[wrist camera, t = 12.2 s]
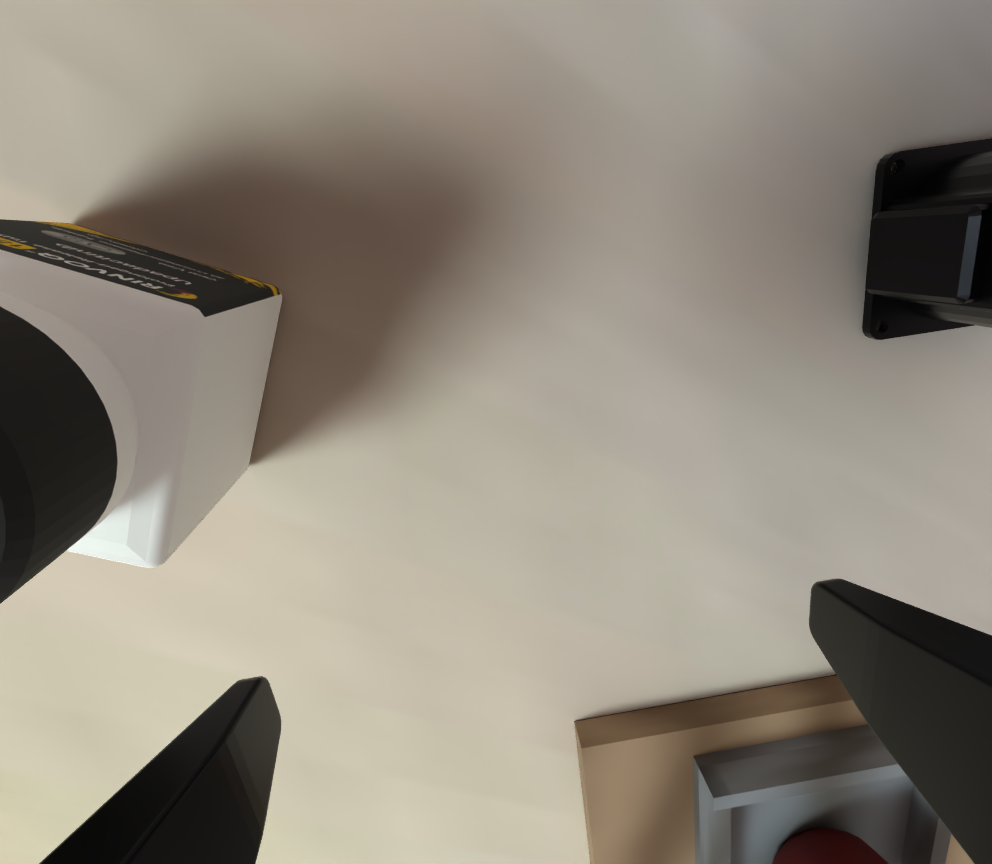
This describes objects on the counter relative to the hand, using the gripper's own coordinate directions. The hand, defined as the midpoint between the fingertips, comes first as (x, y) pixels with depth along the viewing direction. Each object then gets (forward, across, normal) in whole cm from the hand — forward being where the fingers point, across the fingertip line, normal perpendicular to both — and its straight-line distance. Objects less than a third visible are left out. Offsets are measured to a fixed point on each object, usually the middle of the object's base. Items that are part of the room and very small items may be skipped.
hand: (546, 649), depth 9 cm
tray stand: (+13, -13, +25) cm, 31 cm away
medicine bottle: (+13, +11, -4) cm, 18 cm away
